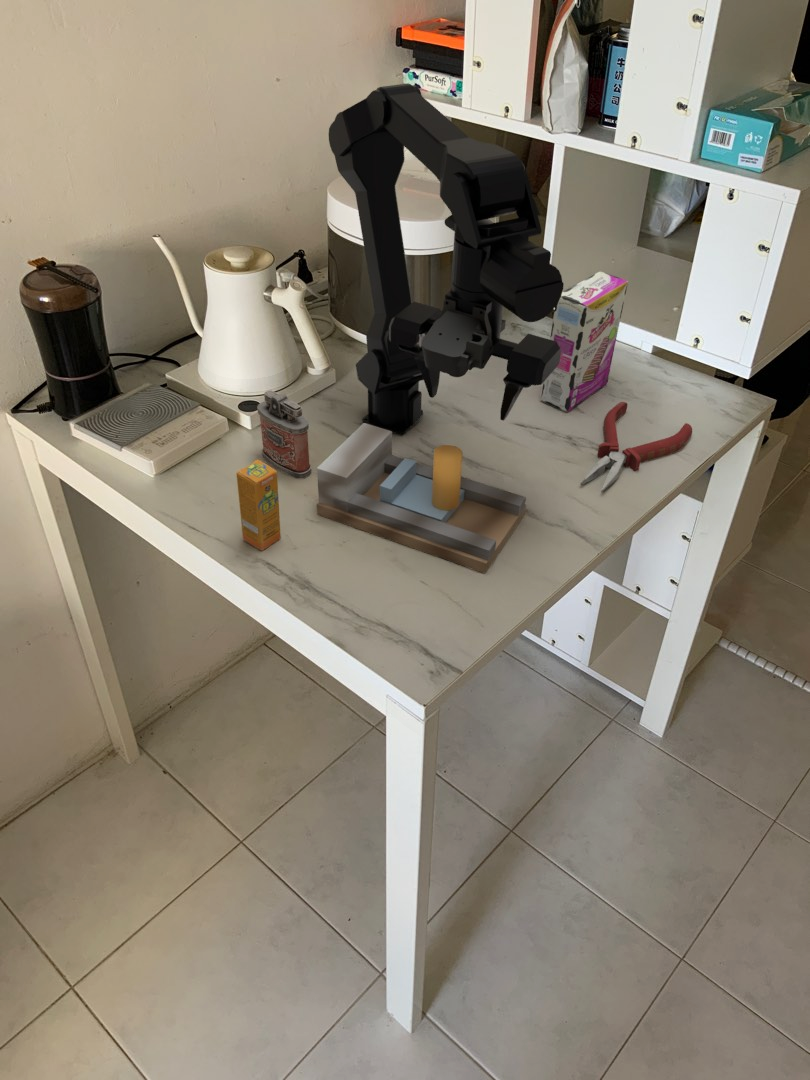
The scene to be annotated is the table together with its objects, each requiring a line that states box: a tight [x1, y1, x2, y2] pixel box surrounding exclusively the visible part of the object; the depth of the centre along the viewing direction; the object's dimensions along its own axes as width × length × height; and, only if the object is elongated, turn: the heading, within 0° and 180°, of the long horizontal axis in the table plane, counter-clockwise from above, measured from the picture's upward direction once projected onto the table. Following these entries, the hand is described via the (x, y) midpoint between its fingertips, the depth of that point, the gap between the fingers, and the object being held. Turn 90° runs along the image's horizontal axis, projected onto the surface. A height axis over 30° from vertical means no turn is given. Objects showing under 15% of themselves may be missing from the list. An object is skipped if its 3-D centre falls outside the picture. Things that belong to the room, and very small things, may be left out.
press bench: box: [316, 423, 527, 574], centre depth 104 cm, size 22×12×6 cm, turn 62°
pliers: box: [580, 401, 693, 493], centre depth 115 cm, size 12×20×3 cm, turn 145°
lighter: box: [256, 389, 312, 480], centre depth 110 cm, size 8×3×10 cm, turn 47°
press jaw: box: [380, 444, 465, 523], centre depth 102 cm, size 9×6×8 cm
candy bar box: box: [540, 271, 629, 413], centre depth 122 cm, size 11×5×16 cm, turn 139°
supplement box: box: [236, 459, 281, 551], centre depth 98 cm, size 3×3×10 cm
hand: (467, 407), depth 102 cm, fingers open, 9 cm apart
